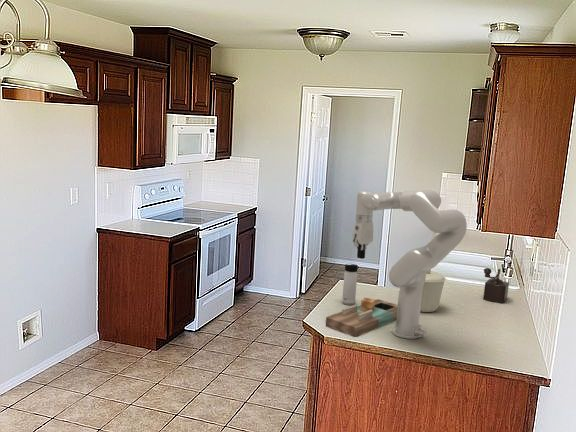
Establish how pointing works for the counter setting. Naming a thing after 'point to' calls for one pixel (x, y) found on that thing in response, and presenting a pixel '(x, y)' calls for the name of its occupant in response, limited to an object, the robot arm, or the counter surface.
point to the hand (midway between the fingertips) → (360, 257)
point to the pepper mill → (495, 288)
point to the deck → (362, 318)
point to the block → (367, 304)
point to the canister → (432, 291)
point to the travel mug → (350, 284)
